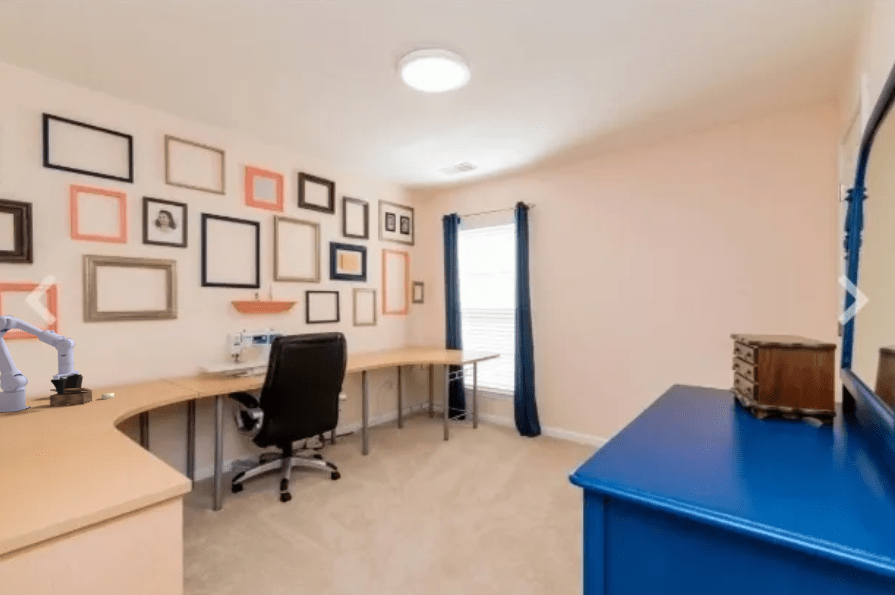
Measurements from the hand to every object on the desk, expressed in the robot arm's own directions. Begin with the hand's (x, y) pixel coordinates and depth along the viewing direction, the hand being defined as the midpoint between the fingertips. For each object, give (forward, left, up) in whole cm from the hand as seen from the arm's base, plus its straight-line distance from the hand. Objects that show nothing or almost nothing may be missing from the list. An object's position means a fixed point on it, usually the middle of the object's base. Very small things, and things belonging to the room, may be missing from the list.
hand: (67, 391), depth 203 cm
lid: (0, +4, 0) cm, 4 cm away
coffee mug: (-12, +23, -7) cm, 27 cm away
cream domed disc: (+11, +12, -7) cm, 18 cm away
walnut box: (0, +4, -6) cm, 7 cm away
